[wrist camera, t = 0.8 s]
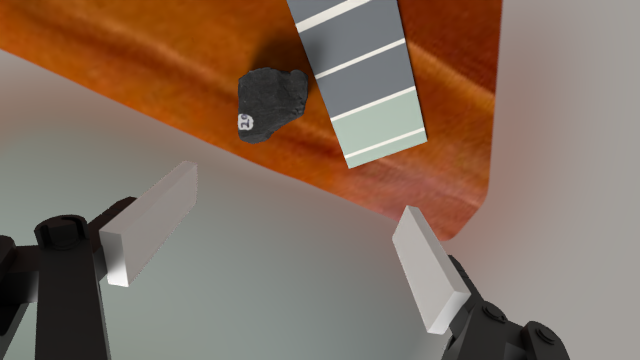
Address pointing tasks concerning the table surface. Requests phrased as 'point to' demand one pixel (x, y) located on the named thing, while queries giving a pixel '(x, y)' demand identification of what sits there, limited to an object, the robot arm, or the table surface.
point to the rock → (269, 101)
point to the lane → (362, 74)
